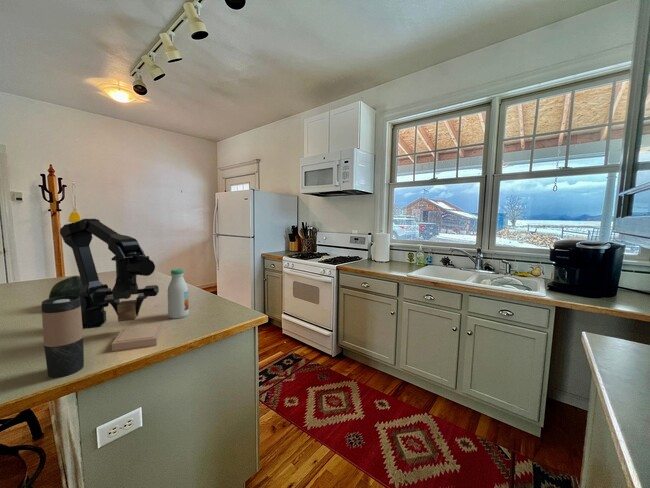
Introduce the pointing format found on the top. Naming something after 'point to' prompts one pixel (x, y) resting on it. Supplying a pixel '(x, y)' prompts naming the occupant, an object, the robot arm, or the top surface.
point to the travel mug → (63, 335)
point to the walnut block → (127, 310)
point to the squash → (67, 287)
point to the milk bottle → (177, 295)
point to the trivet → (137, 337)
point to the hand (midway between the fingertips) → (128, 315)
